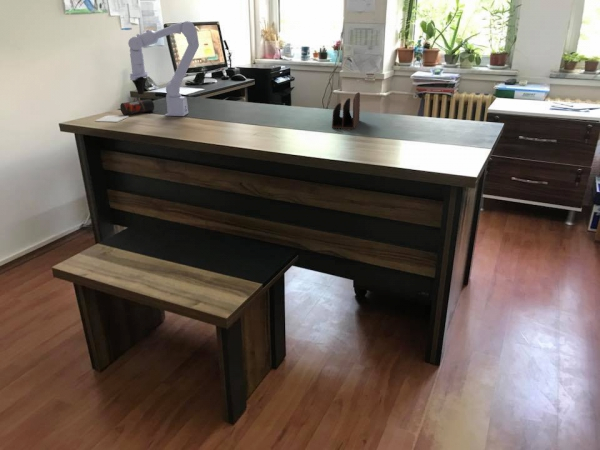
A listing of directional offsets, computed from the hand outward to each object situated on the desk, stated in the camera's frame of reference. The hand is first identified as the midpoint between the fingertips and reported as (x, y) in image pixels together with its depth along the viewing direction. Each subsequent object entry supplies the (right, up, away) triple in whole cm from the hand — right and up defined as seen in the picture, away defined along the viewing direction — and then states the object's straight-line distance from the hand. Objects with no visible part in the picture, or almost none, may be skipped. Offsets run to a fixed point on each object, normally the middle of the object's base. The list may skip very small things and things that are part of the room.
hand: (141, 93), depth 237 cm
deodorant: (-10, -7, +3) cm, 12 cm away
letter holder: (+97, -17, -10) cm, 99 cm away
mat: (-13, -13, -3) cm, 18 cm away
